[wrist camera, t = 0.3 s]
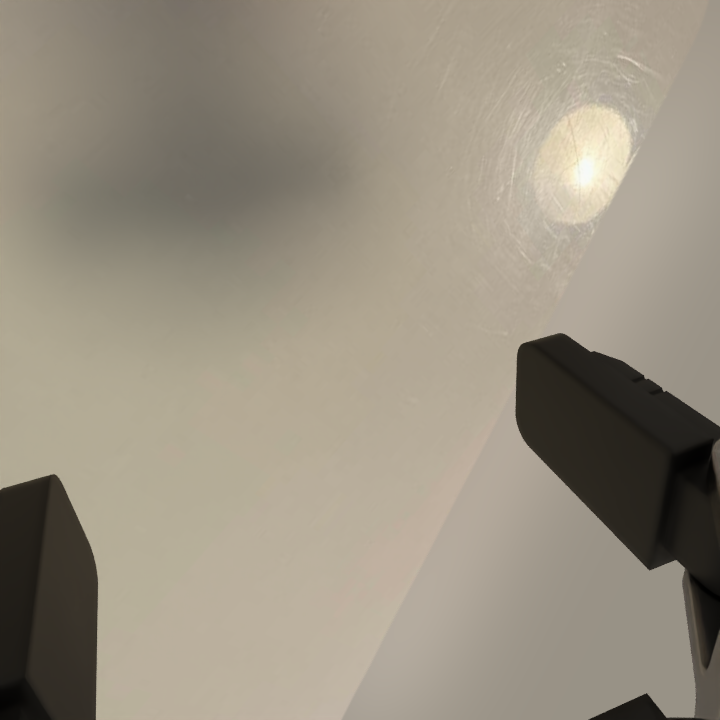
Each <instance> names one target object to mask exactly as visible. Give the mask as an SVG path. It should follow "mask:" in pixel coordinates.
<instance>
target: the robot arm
mask: <svg viewBox="0 0 720 720" xmlns="http://www.w3.org/2000/svg"><path fill="white" fill-rule="evenodd" d="M516 421H517V425H518V428H519V431H520V433H521V435H522V437H523V439H524V441H525V442H526V443H527V445H528V446H529V447H530V448H531V449H532V450H533V451H534V452H535V453H536V454H537V455H538V456H539V457H540V458H541V459H542V460H543V461H544V463H546V464H547V466H548V467H549V468H550V469H551V470H552V471H553V472H554V473H555V474H556V475H557V476H558V477H559V478H560V479H561V480H562V481H563V482H564V483H565V484H566V485H567V486H568V487H569V488H570V489H571V490H572V491H573V492H574V493H575V494H576V495H577V496H578V497H579V499H580V500H581V501H582V502H583V503H585V505H586V506H587V507H588V508H589V509H590V510H591V511H592V512H593V513H594V514H595V515H596V516H597V517H598V518H599V519H600V520H601V521H602V522H603V523H604V524H605V525H606V526H607V527H608V528H609V529H610V530H611V531H612V532H613V533H614V534H615V536H616V537H617V538H618V539H619V540H620V541H621V542H622V543H623V544H624V545H625V546H626V547H627V548H628V549H629V550H630V551H631V552H632V553H633V554H634V555H635V556H636V557H637V558H638V559H639V560H640V561H641V562H642V563H643V564H644V565H645V566H646V567H647V568H648V569H649V570H652V569H654V568H657V567H659V566H662V565H664V564H667V563H669V562H672V561H674V560H677V561H678V562H679V563H680V564H681V565H683V566H684V567H685V571H684V575H683V580H682V582H683V592H684V600H685V608H686V616H687V624H688V630H689V638H690V647H691V654H692V662H693V670H694V678H695V688H696V705H695V716H694V718H666V717H665V716H664V714H663V713H662V712H661V710H660V709H659V708H658V707H657V706H656V704H655V703H654V702H653V700H652V699H651V698H650V697H649V695H648V694H647V693H646V694H644V695H642V696H640V697H637V698H635V699H633V700H631V701H629V702H626V703H624V704H622V705H620V706H618V707H616V708H613V709H611V710H609V711H607V712H605V713H602V714H600V715H598V716H596V717H594V718H591V719H589V720H720V427H719V426H718V425H716V424H715V423H713V422H712V421H710V420H709V419H707V418H706V417H704V416H703V415H701V414H700V413H698V412H697V411H695V410H694V409H692V408H691V407H690V406H688V405H687V404H685V403H684V402H682V401H681V400H679V399H678V398H676V397H675V396H673V395H672V394H670V393H669V392H667V391H665V392H663V390H662V388H661V387H660V386H659V385H657V384H656V383H654V382H653V381H651V380H649V379H645V378H644V375H642V374H641V373H639V372H638V371H636V370H634V369H633V368H632V367H630V366H629V365H627V364H626V363H624V362H623V361H621V360H618V359H615V358H612V357H609V356H606V355H603V354H601V353H598V352H595V351H593V352H590V351H588V350H587V349H586V348H584V347H582V346H581V345H580V344H578V343H577V342H576V341H574V340H573V339H571V338H570V337H568V336H567V335H565V334H562V333H558V334H555V335H551V336H547V337H544V338H540V339H537V340H533V341H530V342H526V343H523V344H522V345H521V346H520V347H519V349H518V353H517V377H516ZM97 609H98V577H97V570H96V564H95V560H94V556H93V553H92V549H91V547H90V544H89V542H88V539H87V537H86V535H85V533H84V531H83V528H82V526H81V524H80V522H79V520H78V517H77V515H76V513H75V511H74V509H73V506H72V504H71V502H70V500H69V498H68V495H67V493H66V491H65V489H64V487H63V485H62V483H61V481H60V479H59V478H58V477H57V476H56V475H55V474H52V475H49V476H45V477H42V478H38V479H34V480H31V481H27V482H24V483H20V484H17V485H13V486H10V487H6V488H2V489H1V490H0V720H96V669H97Z"/></svg>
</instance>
